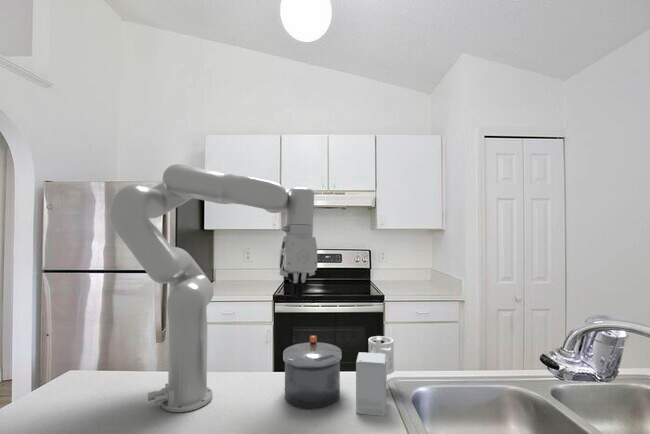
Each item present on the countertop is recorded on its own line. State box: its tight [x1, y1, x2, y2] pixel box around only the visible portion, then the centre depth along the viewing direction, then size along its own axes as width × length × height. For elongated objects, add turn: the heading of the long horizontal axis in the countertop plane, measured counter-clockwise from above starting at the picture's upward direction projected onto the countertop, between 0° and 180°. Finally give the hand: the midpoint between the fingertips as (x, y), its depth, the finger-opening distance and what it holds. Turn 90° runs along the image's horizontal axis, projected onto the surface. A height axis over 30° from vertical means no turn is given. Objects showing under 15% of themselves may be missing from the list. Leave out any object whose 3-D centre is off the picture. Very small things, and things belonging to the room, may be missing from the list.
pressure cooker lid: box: [282, 334, 343, 368], centre depth 93 cm, size 16×16×4 cm
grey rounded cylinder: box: [284, 360, 341, 411], centre depth 93 cm, size 15×15×10 cm
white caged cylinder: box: [368, 335, 395, 392], centre depth 96 cm, size 7×7×15 cm
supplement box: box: [355, 351, 387, 417], centre depth 86 cm, size 7×7×13 cm
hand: (296, 296), depth 95 cm, fingers closed
